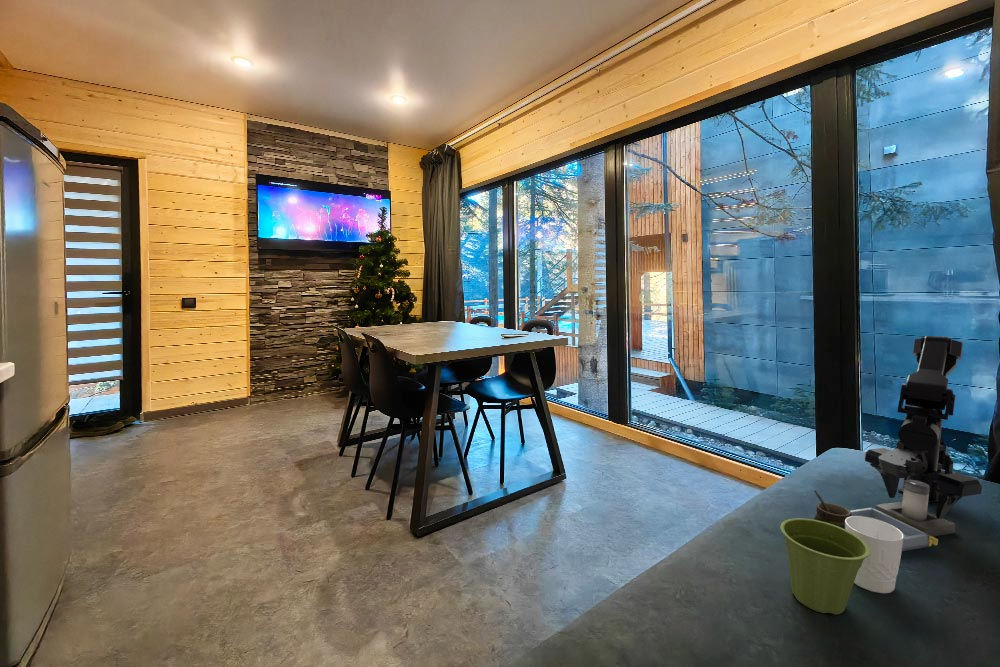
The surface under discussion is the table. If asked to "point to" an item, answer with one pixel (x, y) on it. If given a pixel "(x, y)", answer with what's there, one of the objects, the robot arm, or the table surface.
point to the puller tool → (933, 541)
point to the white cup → (877, 553)
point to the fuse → (915, 500)
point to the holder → (929, 526)
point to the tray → (911, 534)
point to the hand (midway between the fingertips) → (914, 507)
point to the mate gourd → (831, 513)
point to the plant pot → (822, 563)
